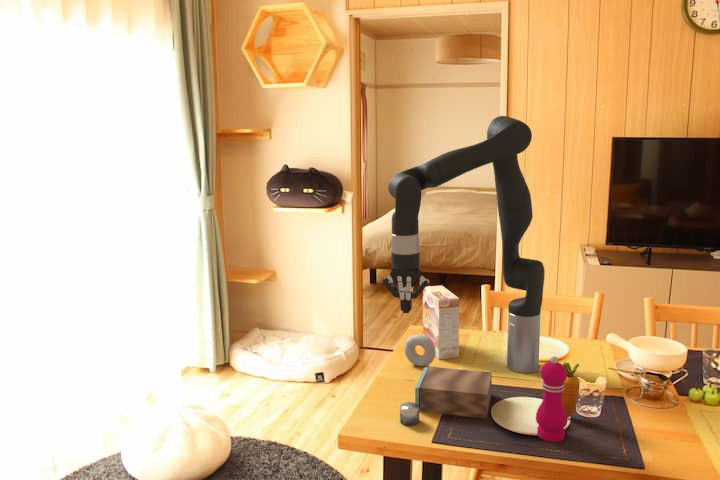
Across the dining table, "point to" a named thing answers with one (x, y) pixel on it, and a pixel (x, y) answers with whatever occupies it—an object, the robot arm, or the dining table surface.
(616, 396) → the dining table surface
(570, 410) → the carrot
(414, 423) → the shiny metal cylinder
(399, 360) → the dining table surface
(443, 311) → the coffeecake box
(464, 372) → the housing
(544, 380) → the pepper mill
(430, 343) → the donut
